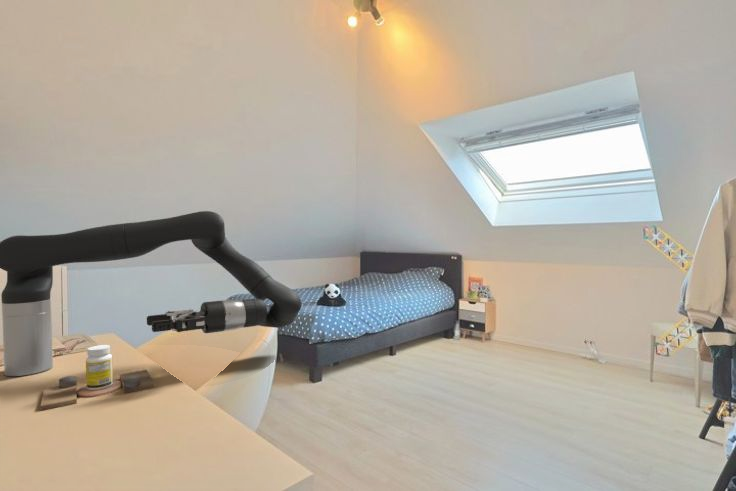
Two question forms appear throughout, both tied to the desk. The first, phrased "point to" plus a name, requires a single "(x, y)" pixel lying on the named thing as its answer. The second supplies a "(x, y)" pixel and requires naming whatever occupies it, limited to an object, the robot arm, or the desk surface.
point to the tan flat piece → (69, 392)
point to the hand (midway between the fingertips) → (149, 323)
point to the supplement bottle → (99, 367)
